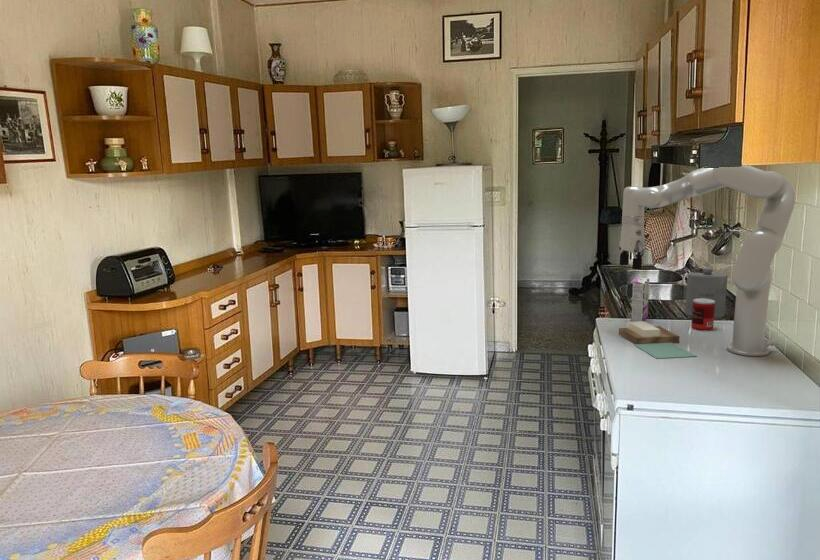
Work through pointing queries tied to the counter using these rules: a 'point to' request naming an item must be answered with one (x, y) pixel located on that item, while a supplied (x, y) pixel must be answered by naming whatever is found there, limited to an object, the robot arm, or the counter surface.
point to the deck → (638, 339)
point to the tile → (644, 329)
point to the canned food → (703, 314)
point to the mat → (664, 350)
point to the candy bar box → (640, 299)
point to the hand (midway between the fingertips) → (630, 266)
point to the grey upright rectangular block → (706, 290)
